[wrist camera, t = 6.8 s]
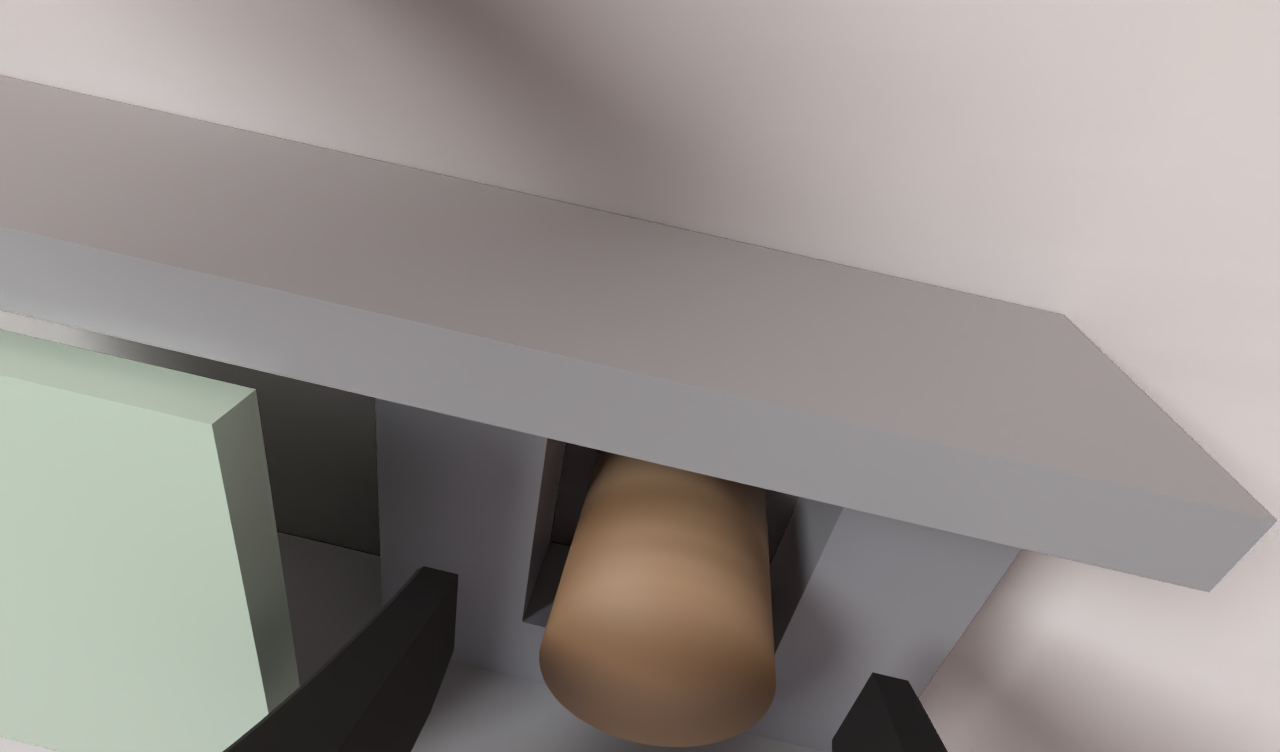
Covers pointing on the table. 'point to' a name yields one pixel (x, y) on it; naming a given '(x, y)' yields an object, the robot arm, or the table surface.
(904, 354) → the housing
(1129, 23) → the table surface
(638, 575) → the tan rounded cylinder
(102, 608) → the lid
